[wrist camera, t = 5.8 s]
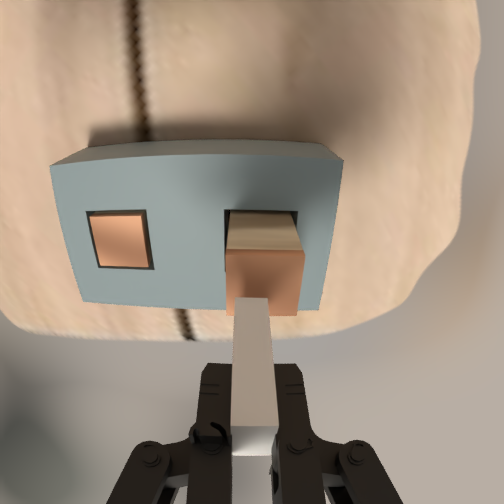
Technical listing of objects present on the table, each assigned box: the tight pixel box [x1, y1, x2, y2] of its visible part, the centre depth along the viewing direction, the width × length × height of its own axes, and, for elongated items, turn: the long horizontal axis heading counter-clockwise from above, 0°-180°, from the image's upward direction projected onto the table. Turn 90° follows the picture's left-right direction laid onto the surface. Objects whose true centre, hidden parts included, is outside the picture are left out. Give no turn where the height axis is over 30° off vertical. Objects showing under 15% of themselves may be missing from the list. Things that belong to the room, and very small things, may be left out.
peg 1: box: [90, 209, 153, 267], centre depth 23 cm, size 4×4×6 cm
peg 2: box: [225, 209, 306, 316], centre depth 19 cm, size 4×4×6 cm
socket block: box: [50, 139, 344, 310], centre depth 23 cm, size 12×20×6 cm, turn 88°
